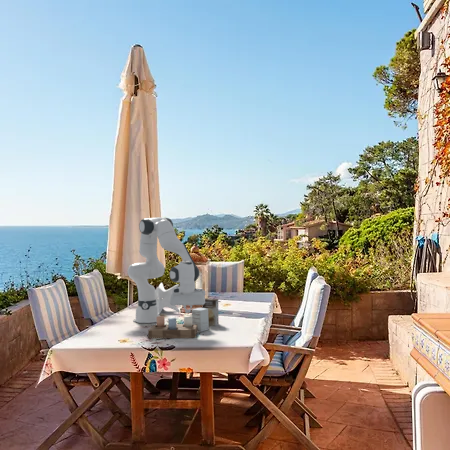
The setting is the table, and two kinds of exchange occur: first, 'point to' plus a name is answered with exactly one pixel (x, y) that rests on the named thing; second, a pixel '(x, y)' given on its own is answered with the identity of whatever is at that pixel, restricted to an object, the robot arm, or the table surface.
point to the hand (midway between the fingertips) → (188, 312)
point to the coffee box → (212, 311)
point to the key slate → (172, 324)
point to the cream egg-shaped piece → (187, 321)
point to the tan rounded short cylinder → (160, 321)
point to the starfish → (164, 298)
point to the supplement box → (200, 318)
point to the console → (173, 332)
